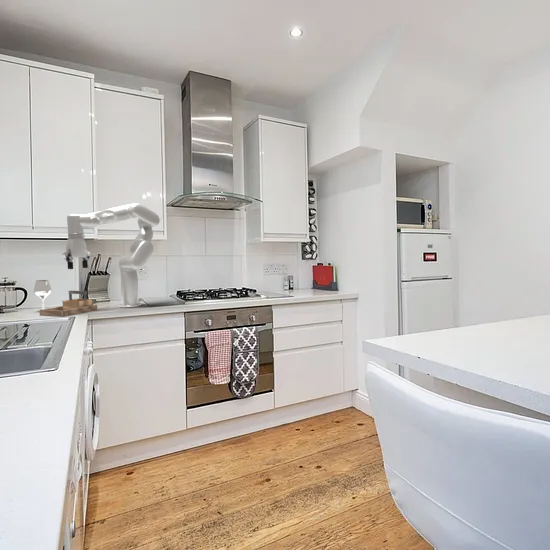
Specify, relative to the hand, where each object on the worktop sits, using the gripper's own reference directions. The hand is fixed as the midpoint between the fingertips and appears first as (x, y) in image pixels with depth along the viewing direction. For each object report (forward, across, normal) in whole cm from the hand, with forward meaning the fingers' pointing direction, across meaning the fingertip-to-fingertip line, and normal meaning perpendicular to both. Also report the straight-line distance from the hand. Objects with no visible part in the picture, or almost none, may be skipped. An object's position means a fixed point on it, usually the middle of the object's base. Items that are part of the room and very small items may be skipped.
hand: (78, 268), depth 204 cm
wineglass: (+25, +6, -21) cm, 33 cm away
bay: (+24, +7, -1) cm, 25 cm away
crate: (+23, +1, -1) cm, 23 cm away
